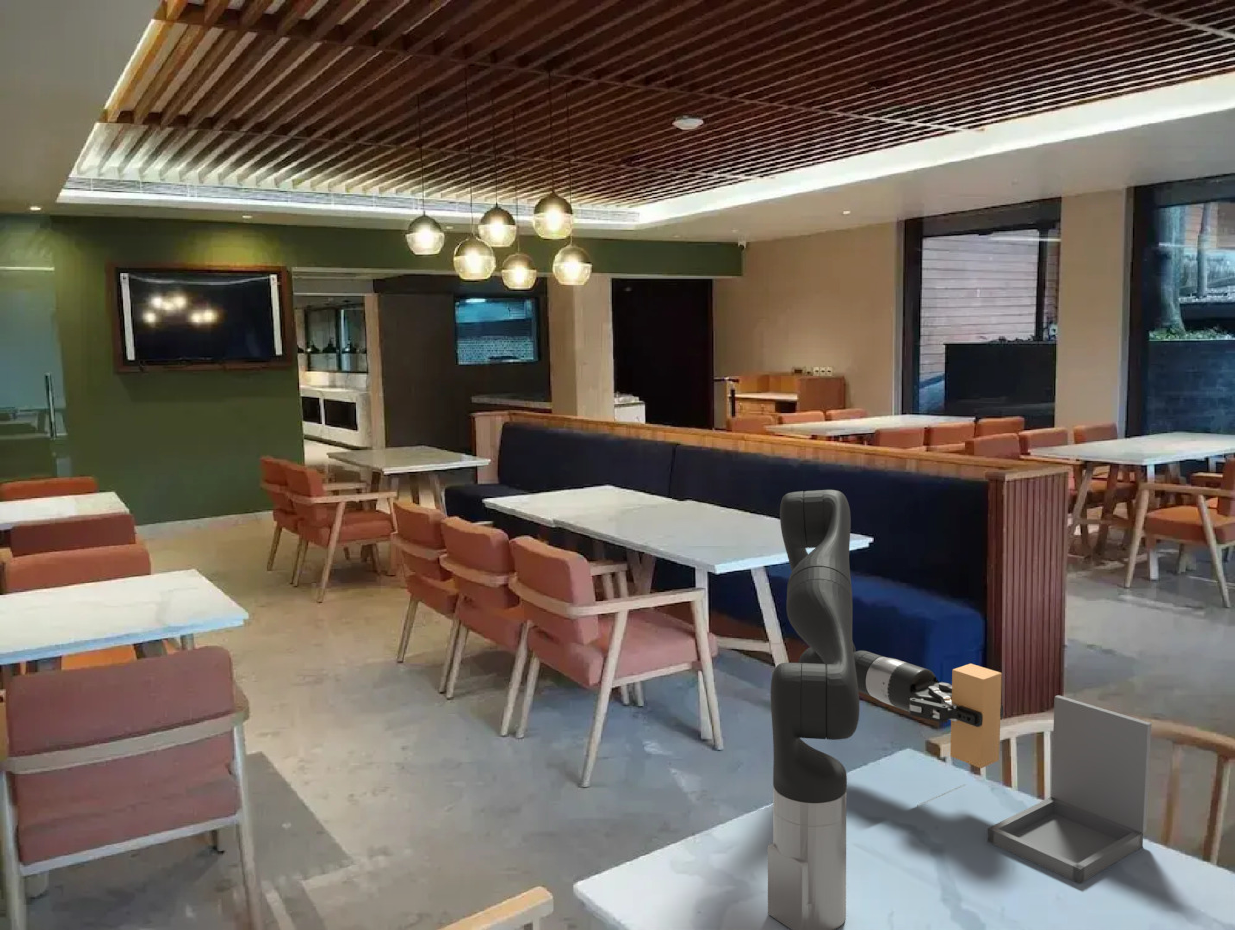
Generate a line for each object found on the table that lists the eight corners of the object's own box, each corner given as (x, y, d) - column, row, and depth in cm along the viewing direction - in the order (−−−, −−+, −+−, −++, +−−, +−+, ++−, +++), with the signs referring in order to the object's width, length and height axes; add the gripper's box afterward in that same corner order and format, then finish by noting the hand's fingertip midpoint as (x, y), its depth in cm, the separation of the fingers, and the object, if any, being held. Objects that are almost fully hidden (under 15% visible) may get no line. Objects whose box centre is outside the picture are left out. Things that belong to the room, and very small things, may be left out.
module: (981, 768, 150) (983, 679, 148) (950, 756, 154) (952, 669, 152) (999, 760, 152) (1001, 672, 150) (968, 748, 157) (970, 663, 155)
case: (1079, 890, 132) (1084, 754, 129) (987, 847, 143) (990, 721, 141) (1145, 850, 141) (1151, 723, 139) (1054, 813, 153) (1058, 695, 150)
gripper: (872, 672, 159) (962, 703, 145) (929, 653, 167) (1020, 682, 154) (871, 716, 160) (961, 752, 147) (928, 696, 169) (1018, 728, 155)
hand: (991, 716), depth 150 cm, fingers closed on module, 4 cm apart
